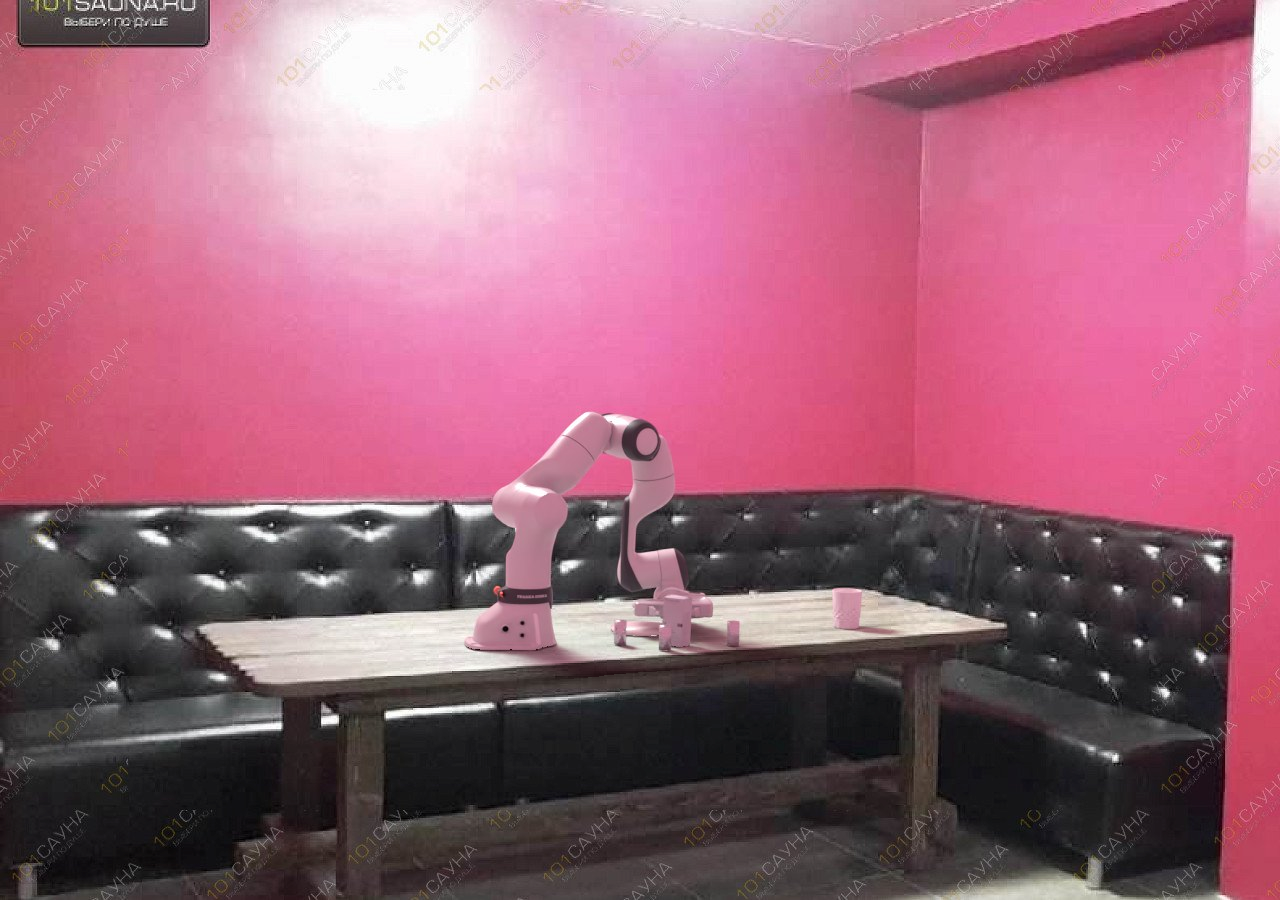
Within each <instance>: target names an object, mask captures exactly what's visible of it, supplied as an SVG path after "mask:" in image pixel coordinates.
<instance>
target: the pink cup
mask: <svg viewBox="0 0 1280 900" xmlns="http://www.w3.org/2000/svg"><path fill="white" fill-rule="evenodd" d="M862 596H863V591H862V590H861V589H857V588H849V587H839V588H837V587H836V588H833V589H832V597H831V598H832V616H833V627H834V628H835V627H836V628H835V629H839V628H841V629H842V630H855V629H857V630H858V629H859V628H860V621H861V620H860V617H861V613H862V611H861V610H862V609H861V608H862V600H863V599H862ZM841 629H840V630H841Z"/></svg>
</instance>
